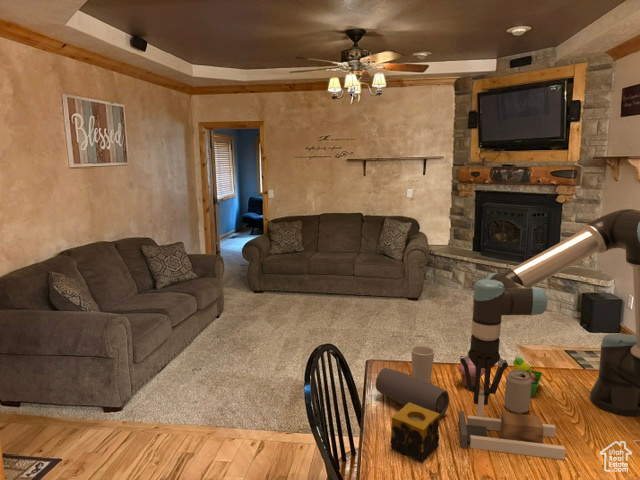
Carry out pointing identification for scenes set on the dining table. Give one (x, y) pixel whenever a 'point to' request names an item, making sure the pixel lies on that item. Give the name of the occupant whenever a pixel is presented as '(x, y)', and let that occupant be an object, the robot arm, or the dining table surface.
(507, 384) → the can
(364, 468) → the dining table surface
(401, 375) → the bluetooth speaker
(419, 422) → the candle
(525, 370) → the fruit basket
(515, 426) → the block
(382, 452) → the dining table surface
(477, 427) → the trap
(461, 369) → the cupcake
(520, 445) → the channel
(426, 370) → the cup
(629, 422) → the dining table surface
